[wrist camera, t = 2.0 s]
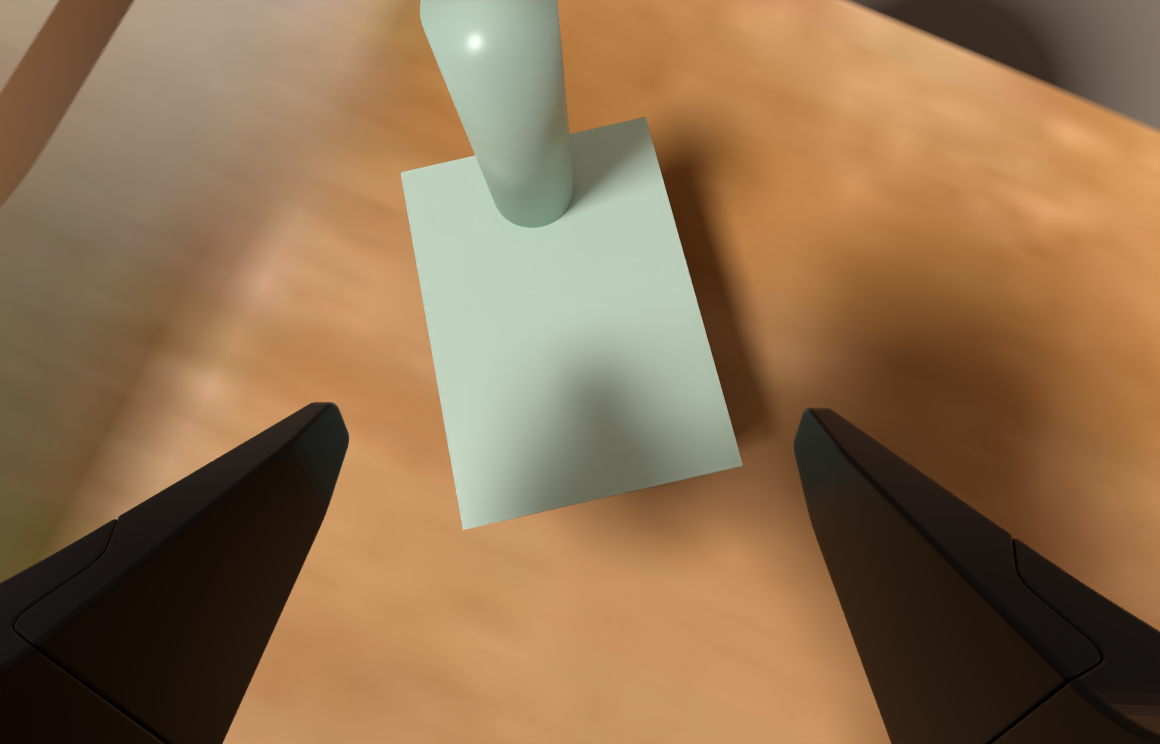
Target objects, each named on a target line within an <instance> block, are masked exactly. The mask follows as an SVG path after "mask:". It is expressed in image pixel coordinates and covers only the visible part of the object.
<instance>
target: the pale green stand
mask: <svg viewBox="0 0 1160 744" xmlns="http://www.w3.org/2000/svg"><path fill="white" fill-rule="evenodd" d="M420 16H421V22H422V25H423V28H424V31H425V33H426V36H427V38H428V41H429V43H430V46H431V48H432V51H433V53H434V55H435V58H436V60H437V63H438V65H439V68H440V70H441V73H442V75H443V78H444V80H445V82H446V85H447V87H448V90H449V92H450V95H451V97H452V100H453V102H454V105H455V107H456V110H457V112H458V114H459V117H460V119H461V122H462V124H463V127H464V129H465V132H466V134H467V137H468V139H469V141H470V144H471V146H472V149H473V151H474V154H475V156H471V157H467V158H462V159H458V160H454V161H449V162H445V163H440V164H436V165H432V166H427V167H423V168H418V169H414V170H410V171H405V172H401V178H402V184H403V189H404V195H405V201H406V206H407V212H408V218H409V224H410V229H411V235H412V241H413V247H414V252H415V258H416V264H417V269H418V275H419V281H420V287H421V292H422V298H423V304H424V310H425V315H426V321H427V327H428V332H429V338H430V344H431V350H432V355H433V361H434V367H435V373H436V378H437V384H438V390H439V395H440V401H441V407H442V413H443V418H444V424H445V430H446V436H447V441H448V447H449V453H450V458H451V464H452V470H453V476H454V481H455V487H456V493H457V499H458V504H459V510H460V516H461V521H462V527H463V530H465V529H469V528H474V527H478V526H482V525H487V524H491V523H496V522H500V521H504V520H509V519H513V518H517V517H522V516H526V515H531V514H535V513H539V512H544V511H548V510H552V509H557V508H561V507H566V506H570V505H574V504H579V503H583V502H587V501H592V500H596V499H600V498H605V497H609V496H614V495H618V494H622V493H627V492H631V491H635V490H640V489H644V488H649V487H653V486H657V485H662V484H666V483H670V482H675V481H679V480H684V479H688V478H692V477H697V476H701V475H705V474H710V473H714V472H718V471H723V470H727V469H732V468H736V467H740V466H743V464H742V460H741V457H740V453H739V449H738V446H737V442H736V439H735V435H734V432H733V428H732V424H731V421H730V417H729V414H728V410H727V407H726V403H725V399H724V396H723V392H722V389H721V385H720V382H719V378H718V374H717V371H716V367H715V364H714V360H713V357H712V353H711V349H710V346H709V342H708V339H707V335H706V332H705V328H704V324H703V321H702V317H701V314H700V310H699V307H698V303H697V299H696V296H695V292H694V289H693V285H692V281H691V278H690V274H689V271H688V267H687V264H686V260H685V256H684V253H683V249H682V246H681V242H680V239H679V235H678V231H677V228H676V224H675V221H674V217H673V214H672V210H671V206H670V203H669V199H668V196H667V192H666V189H665V185H664V181H663V178H662V174H661V171H660V167H659V164H658V160H657V156H656V153H655V149H654V146H653V142H652V139H651V135H650V131H649V128H648V124H647V121H646V117H643V118H639V119H634V120H630V121H625V122H621V123H617V124H612V125H608V126H603V127H599V128H595V129H590V130H586V131H581V132H577V133H573V134H569V125H568V114H567V103H566V92H565V80H564V69H563V58H562V47H561V36H560V25H559V14H558V3H557V0H421V3H420Z"/></svg>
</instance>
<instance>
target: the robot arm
mask: <svg viewBox="0 0 1160 744" xmlns="http://www.w3.org/2000/svg"><path fill="white" fill-rule="evenodd" d="M348 444H349V434H348V431H347V428H346V426H345V423H344V421H343V418H342V416H341V413H340V410H339V408H338V406H337V405H336V404H334V403H331V402H314V403H311V404H309V405H307V406H305V407H304V408H302V409H300V410H299V411H297V412H295V413H294V414H292V415H290V416H288V417H287V418H285V419H283V420H282V421H280V422H278V423H277V424H275V425H273V426H271V427H270V428H268V429H266V430H265V431H263V432H261V433H260V434H258V435H256V436H254V437H253V438H251V439H249V440H248V441H246V442H244V443H243V444H241V445H239V446H238V447H236V448H234V449H232V450H231V451H229V452H227V453H226V454H224V455H222V456H221V457H219V458H217V459H215V460H214V461H212V462H210V463H209V464H207V465H205V466H204V467H202V468H200V469H198V470H197V471H195V472H193V473H192V474H190V475H188V476H187V477H185V478H183V479H181V480H180V481H178V482H176V483H175V484H173V485H171V486H170V487H168V488H166V489H164V490H163V491H161V492H159V493H158V494H156V495H154V496H153V497H151V498H149V499H147V500H146V501H144V502H142V503H141V504H139V505H137V506H136V507H134V508H132V509H130V510H129V511H127V512H125V513H124V514H122V515H120V516H119V517H118V520H117V519H114V520H112V521H110V522H108V523H106V524H105V525H103V526H101V527H100V528H98V529H96V530H95V531H93V532H91V533H90V534H88V535H86V536H84V537H83V538H81V539H79V540H77V541H76V542H74V543H72V544H70V545H69V546H67V547H65V548H63V549H62V550H60V551H58V552H56V553H55V554H53V555H51V556H49V557H48V558H46V559H44V560H42V561H40V562H38V563H36V564H35V565H33V566H31V567H29V568H27V569H25V570H24V571H22V572H20V573H18V574H16V575H14V576H12V577H11V578H9V579H7V580H5V581H3V582H1V583H0V744H223V741H224V739H225V737H226V735H227V733H228V730H229V728H230V726H231V724H232V722H233V719H234V717H235V715H236V713H237V710H238V708H239V706H240V704H241V702H242V699H243V697H244V695H245V693H246V690H247V688H248V686H249V684H250V682H251V679H252V677H253V675H254V673H255V671H256V668H257V666H258V664H259V662H260V659H261V657H262V655H263V653H264V651H265V648H266V646H267V644H268V642H269V639H270V637H271V635H272V633H273V631H274V628H275V626H276V624H277V622H278V619H279V617H280V615H281V613H282V611H283V608H284V606H285V604H286V602H287V600H288V597H289V595H290V593H291V591H292V588H293V586H294V584H295V582H296V580H297V577H298V575H299V573H300V571H301V568H302V566H303V564H304V562H305V560H306V557H307V555H308V553H309V551H310V549H311V546H312V544H313V542H314V540H315V537H316V535H317V533H318V531H319V529H320V526H321V524H322V522H323V519H324V517H325V515H326V512H327V509H328V506H329V504H330V501H331V498H332V495H333V491H334V488H335V485H336V482H337V479H338V476H339V473H340V470H341V467H342V464H343V460H344V457H345V454H346V451H347V448H348ZM794 452H795V457H796V461H797V465H798V470H799V474H800V478H801V482H802V487H803V491H804V495H805V499H806V504H807V508H808V512H809V516H810V520H811V523H812V526H813V529H814V532H815V535H816V538H817V541H818V544H819V546H820V549H821V552H822V555H823V557H824V560H825V563H826V566H827V568H828V571H829V574H830V577H831V579H832V582H833V585H834V588H835V590H836V593H837V596H838V599H839V601H840V604H841V607H842V610H843V612H844V615H845V618H846V620H847V623H848V626H849V629H850V631H851V634H852V637H853V640H854V642H855V645H856V648H857V651H858V653H859V656H860V659H861V662H862V664H863V667H864V670H865V673H866V675H867V678H868V681H869V684H870V686H871V689H872V692H873V695H874V697H875V700H876V703H877V706H878V708H879V711H880V714H881V717H882V719H883V722H884V725H885V728H886V730H887V733H888V736H889V738H890V741H891V744H1160V631H1158V630H1157V629H1155V628H1153V627H1152V626H1150V625H1148V624H1147V623H1145V622H1144V621H1142V620H1140V619H1139V618H1137V617H1136V616H1134V615H1132V614H1131V613H1129V612H1127V611H1126V610H1124V609H1123V608H1121V607H1120V606H1118V605H1116V604H1115V603H1113V602H1112V601H1110V600H1109V599H1107V598H1105V597H1104V596H1102V595H1101V594H1099V593H1097V592H1096V591H1094V590H1093V589H1091V588H1090V587H1088V586H1086V585H1085V584H1083V583H1082V582H1080V581H1079V580H1077V579H1076V578H1074V577H1073V576H1071V575H1070V574H1068V573H1067V572H1065V571H1064V570H1062V569H1061V568H1059V567H1058V566H1056V565H1055V564H1053V563H1052V562H1051V561H1049V560H1048V559H1046V558H1045V557H1043V556H1042V555H1040V554H1039V553H1037V552H1036V551H1034V550H1033V549H1032V548H1030V547H1029V546H1027V545H1026V544H1024V543H1023V542H1022V541H1020V540H1019V539H1016V538H1014V539H1013V537H1012V535H1011V534H1010V533H1008V532H1007V531H1005V530H1004V529H1003V528H1001V527H1000V526H998V525H997V524H995V523H994V522H992V521H991V520H990V519H988V518H987V517H985V516H984V515H982V514H981V513H980V512H978V511H977V510H975V509H974V508H972V507H971V506H969V505H968V504H967V503H965V502H964V501H962V500H961V499H959V498H958V497H957V496H955V495H954V494H952V493H951V492H949V491H948V490H946V489H945V488H944V487H942V486H941V485H939V484H938V483H936V482H935V481H934V480H932V479H931V478H929V477H928V476H926V475H925V474H923V473H922V472H921V471H919V470H918V469H916V468H915V467H913V466H912V465H911V464H909V463H908V462H906V461H905V460H903V459H902V458H900V457H899V456H898V455H896V454H895V453H893V452H892V451H890V450H889V449H887V448H886V447H885V446H883V445H882V444H880V443H879V442H877V441H876V440H875V439H873V438H872V437H870V436H869V435H867V434H866V433H864V432H863V431H862V430H860V429H859V428H857V427H856V426H854V425H853V424H852V423H850V422H849V421H847V420H846V419H844V418H843V417H841V416H840V415H839V414H837V413H836V412H834V411H833V410H831V409H829V408H808V409H806V410H805V411H804V413H803V415H802V418H801V421H800V424H799V427H798V430H797V433H796V436H795V440H794Z"/></svg>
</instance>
